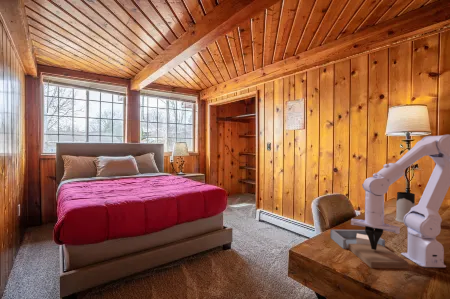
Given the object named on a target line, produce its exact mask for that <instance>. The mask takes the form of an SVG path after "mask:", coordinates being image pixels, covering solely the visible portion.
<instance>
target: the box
mask: <svg viewBox="0 0 450 299" xmlns="http://www.w3.org/2000/svg"><path fill="white" fill-rule="evenodd" d="M357 234H363V235H367V234H366V232H365V229H330V239H331V240H332V241H333V242H335V243H336V244H337V245H339V247H341V249H343V250H347V249H348V244H357V243H356V236H357ZM377 244H380V245H382V246H383V247H385V248H386V246H385V245H386V240H385V239H383V238H382V237H380V239H379V241H378V243H377ZM348 250H349V249H348Z"/></svg>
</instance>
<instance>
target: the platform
mask: <svg viewBox="0 0 450 299" xmlns="http://www.w3.org/2000/svg"><path fill="white" fill-rule="evenodd" d="M348 250H349V251H350V252H352V253H353V254H354V255H355V256H356V257H357V258H359V259H360V260H361V261H363V263H365V264H366V265H367V266H368V267H370V268H371V269H373V268H374V269H409V261H407V260H405V259H404V258H403V257H401V256H399V255H398V254H396V253H394V252H393V251H391V250H389V249H388V248H386V246H385V247H383V246H382V245H380V244H377V248H376V250H374V249H371V244H348Z"/></svg>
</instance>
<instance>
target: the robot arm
mask: <svg viewBox="0 0 450 299" xmlns="http://www.w3.org/2000/svg"><path fill="white" fill-rule="evenodd" d="M425 156H426V157H427V156H428V157H429V158H431V159H432V160H433V161H434V163H435V166H434V168H433V170H432V173H431V175H430V177H429V180H428V182H427V184H426V186H425V188H424V190H423V193H422V194H421V197H420V199H419V201H418V204H415V206H414V207H412V208H411V210H410V211H409V212H408V213H407V214H406V215H405V216H404V219H403V221H404V223H403V224H404V226H405V227H406V229H407V252H401V253H400V255H402V256H404V257H405V258H407V259H408V260H410V261H412V262H414V263H415V264H416V265H418V266H420V267H422V268H446V267H447V265H446V264H445V262H444V259H445V258H444V256H445V248H444V246H443V244H442V243H441V242H440V241H438V240H437V239H436V237H437V236H439V235H440V234H441V230H442V228H441V225H442V221H443V219H442V217H441V215H440V213H439V210H440V208H441V206H442V204H443V202H444V199H445V198H446V194H448V191H449V188H450V134H443V135H427V136H424V137H422V139H421V140H418V141H417V142H416V143H415V144H414V146H413V147H412V148H411V149H409V150H408V151H407V152H405V154H403V156H402V157H400V158H399V159H398V160H397V161H396V162H389V163H385V164H383V165H382V166H383V168H381V169H380V170H379V171H377V172H375V173H373V174H372V176H370V177H367V178H366V179H365V180H364V181H363V183H362V184H361V186H362V188H363V190H364V191H365V199H364V200H365V202H364V205H365V206H364V209H365V210H364V219H356V218H351V220H350V225H351V226H358V227H364V230H365V232H366V234H367V236H368V238H369V240H370V244H371V249H374V250H376V248H377V243H378V241H379V239H380V238H382V235H383V233H384V231H385V232H391V233H394V234H397V235H400V233H401V232H400V231H401V230H400V226H396V225H392V224H389V223H385V194H388V192H389V187H390V186H392V185H393V184H394V183H395V182H397V181H398V180H399V179H400V178H402V177H403V176H404V175H405V170H406V169H408V168H409V167H411V166H412V165H413V164H415V163H416V162H417V161H419V160H420V159H422V158H423V157H425Z"/></svg>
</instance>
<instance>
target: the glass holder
mask: <svg viewBox="0 0 450 299" xmlns="http://www.w3.org/2000/svg"><path fill="white" fill-rule="evenodd" d="M415 195H416V194H415V193H413V192H405V191H398V192H396V204H395V205H396V209H395V210H396V216H395V219H394V220H395V221H397V222H398V223H403V224H404V221H403V219H404V216H405V215H406V214H407V213H408V212H409V211H410V210H411V208H412V207H414V206H416V202H415V201H416V200H415V198H416V196H415Z"/></svg>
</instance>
